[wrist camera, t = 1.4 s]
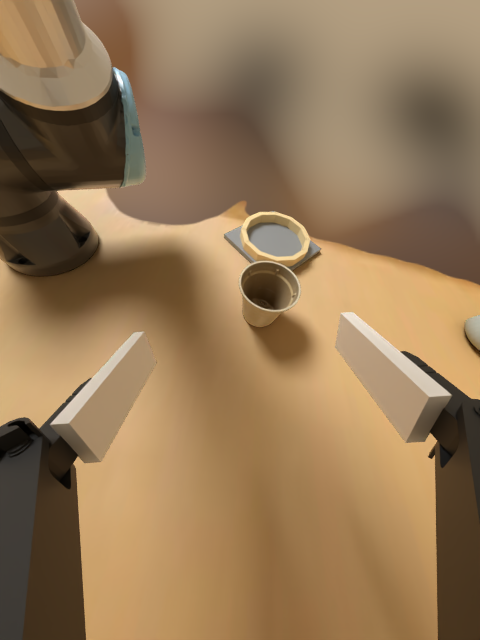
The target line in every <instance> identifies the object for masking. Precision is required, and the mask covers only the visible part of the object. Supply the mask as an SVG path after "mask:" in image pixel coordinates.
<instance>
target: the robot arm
mask: <svg viewBox="0 0 480 640" xmlns="http://www.w3.org/2000/svg"><path fill="white" fill-rule="evenodd" d="M145 177H146V165H145V156H144V149H143V143H142V138H141V134H140V128H139V122H138V115H137V110H136V106H135V101H134V97H133V93H132V89H131V85H130V82H129V79H128V77H127V75H126V74H125V73H124V72H122V71H119V70H118V69H116V68H112V65H111V61H110V58H109V55H108V53H107V51H106V49H105V47H104V45H103V44H102V42H101V41H100V40H99V39H98V37H97V36H96V35H95V34H94V33H93V32H92V31H91V30H90V29H89V28H88V27H87V26H86V25H85V24H84V23H82V22H81V19H80V16H79V14H78V11H77V8H76V5H75V2H74V0H0V259H1V260H3V261H4V262H5V263H6V264H8V265H9V266H10V267H12V268H13V269H15V270H16V271H18V272H20V273H23V274H27V275H32V276H49V275H56V274H60V273H64V272H67V271H69V270H72V269H74V268H76V267H78V266H80V265H81V264H83V263H84V262H86V261H87V260H88V259H89V258H90V257H91V256H92V255H93V254H94V252H95V251H96V249H97V246H98V235H97V233H96V231H95V230H94V228H93V227H92V225H91V223H90V222H89V221H88V220H87V219H86V218H85V217H84V216H83V215H82V214H80V213H79V212H78V211H77V210H76V209H75V208H74V207H72V206H71V205H70V204H69V203H68V202H67V201H66V200H64V199H63V198H62V197H61V196H60V195H59V194H58V192H57V191H58V190H78V189H99V188H123V187H125V186H131V185H137V184H140V183H142V182H143V181H144V180H145ZM335 348H336V349H337V351H338V352H339V353H340V355H341V356H342V357H343V359H344V360H345V361H346V363H347V364H348V366H349V367H350V368H351V370H352V371H353V372H354V374H355V375H356V376H357V378H358V379H359V380H360V382H361V383H362V384H363V386H364V387H365V389H366V390H367V391H368V393H369V394H370V395H371V397H372V398H373V399H374V401H375V402H376V403H377V405H378V406H379V408H380V409H381V410H382V412H383V413H384V414H385V416H386V417H387V418H388V420H389V421H390V422H391V424H392V425H393V426H394V428H395V429H396V431H397V432H398V433H399V435H400V436H401V437H402V439H403V440H404V441H405V443H410V442H425V440H426V438H427V437H428V435H429V433H431V434H432V435H433V436H434V437H435V438H436V440H437V442H436V444H435V446H434V447H433V449H432V450H431V452H430V453H429V456H428V457H429V458H431V459H432V458H433V456H434V455H435V480H436V544H437V607H438V640H480V400H478V399H471V398H469V397H468V396H467V395H465V394H464V393H463V392H462V391H460V390H459V389H458V388H457V387H455V386H454V385H453V384H451V383H450V382H449V381H448V380H446V379H445V378H444V377H442V376H441V375H440V374H439V373H436V371H435V370H434V369H432V368H431V367H430V366H429V367H428V365H427V364H426V363H425V362H423V361H422V360H421V359H420V358H418V357H416V356H414V355H412V354H410V353H408V352H406V351H402V352H400V351H399V350H397V349H396V348H395V347H394V346H393V345H391V344H390V343H389V342H388V341H387V340H385V339H384V338H383V337H382V336H381V335H380V334H378V333H377V332H376V331H375V330H374V329H372V328H371V327H370V326H369V325H368V324H366V323H365V322H364V321H363V320H362V319H360V318H359V317H358V316H357V315H356V314H354V313H353V312H347V313H340V320H339V326H338V332H337V339H336V345H335ZM156 363H157V361H156V359H155V356H154V354H153V351H152V349H151V346H150V344H149V341H148V339H147V336H146V334H145V331H143V332H134V333H133V334H132V335H131V336H130V337H129V338H128V339H127V340H126V341H125V342H124V344H123V345H122V346H121V347H120V348H119V349H118V350H117V351H116V352H115V353H114V355H113V356H112V357H111V358H110V359H109V360H108V361H107V362H106V363H105V364H104V366H103V367H102V368H101V369H100V370H99V371H98V372H97V373H96V374H95V375H94V377H93V378H90V379H88V380H87V381H86V382H84V383H83V384H81V385H80V386H79V387H78V388H77V389H76V390H75V391H74V392H73V394H72V396H70V397H69V398H68V399H67V400H66V402H65V403H63V404H62V405H61V406H60V407H59V408H58V409H57V411H56V412H55V413H54V414H53V415H52V416H51V417H50V418H49V419H48V420H47V421H46V422H45V423H44V424H43V425H42V426H41V428H40V429H39V428H38V427H37V426H36V425H35V424H34V423H33V422H32V421H31V420H30V419H29V418H25V417H24V418H18V419H15V420H13V421H10V422H8V423H6V424H4V425H2V426H1V427H0V640H86V632H85V615H84V598H83V581H82V564H81V547H80V530H79V513H78V497H77V480H76V468H75V466H74V465H73V462H74V461H75V459H76V458H77V456H79V458H80V459H81V460H82V461H83V462H84V463H94V462H101V461H102V460H103V458H104V456H105V454H106V452H107V451H108V449H109V447H110V445H111V444H112V442H113V440H114V438H115V436H116V435H117V433H118V431H119V429H120V428H121V426H122V424H123V422H124V420H125V419H126V417H127V415H128V413H129V411H130V410H131V408H132V406H133V404H134V403H135V401H136V399H137V397H138V395H139V394H140V392H141V390H142V388H143V387H144V385H145V383H146V381H147V379H148V378H149V376H150V374H151V372H152V371H153V369H154V367H155V365H156Z"/></svg>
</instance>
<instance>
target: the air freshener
mask: <svg viewBox="0 0 480 640" xmlns="http://www.w3.org/2000/svg"><path fill="white" fill-rule="evenodd" d="M465 332H466V335H467V337H468V339H469V340H470V342H471V343H472V344H473V345H474V346H475V347H476V348H477V349H478V350H480V315H478V316H475V317H472V318H469V319H467V320H466V321H465Z"/></svg>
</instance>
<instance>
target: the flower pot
mask: <svg viewBox="0 0 480 640" xmlns="http://www.w3.org/2000/svg"><path fill="white" fill-rule="evenodd" d="M239 288H240V291H241V294H242V296H243V308H242V313H243V316H244V318H245V320H246V321H247V322H248V323H249V324H251V325H253V326H256V327H264V326H267V325H270V324H271V323H272V322H273V321H274V320H275V319H276V318H277V317H278V316H279V315H280V314H281V313H282V312H284V311H287V310H289V309H291V308H292V307H293V306H294V305H295V304H296V303H297V302H298V300H299V298H300V295H301V286H300V282H299V280H298V278H297V277H296V275H295V274H294V273H293V272H292V271H291V270H290V269H289V268H287V267H286V266H284V265H282V264H279V263H276V262H272V261H258V262H254V263H252V264H250V265H248V266H247V267H246V268H244V270H243V271H242V273H241V275H240V278H239ZM261 302H264V303H266V305H265V304H263V303H261Z"/></svg>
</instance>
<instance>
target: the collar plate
mask: <svg viewBox="0 0 480 640" xmlns="http://www.w3.org/2000/svg"><path fill="white" fill-rule="evenodd" d="M224 238H225V239H226V240H227V241H228V242H229V243H230V244H231V245H232V246H233V247H234V248H235V249H236V250H237V251H239V252H240V253H241V254H242V255H243V256H244V257H245V258H246V259H247V260H248V261H249V262H250V263H251V264H252V263H254V262H258V261H272V262H276V263H279V264H282V265H284V266H286V267H287V268H289V269H290V270H291V271H293V270H294V269H295V268H297V267H298V266H300V265H301V264H303V263H304V262H306V261H307V260H308V259H310V258H311V257H313V256H314V255H316V254H317V253H319V252H320V250H321V248H319V247H318V246H317V245H316V244H314V243H313V242H312V241H311V240H310V238H309V236H308V234H307V232H306V230H305V228H304V227H303V226H302V225H301V224H300V223H298V222H297V221H296V220H294V219H293V218H291V217H289V216H286V215H283V214H280V213H277V212H274V211H272V212H259V213H256V214H254V215H252V216H250V217H248V218H247V219H246V221H245V222H244V224H243V225H242V226H240V227H238V228H236V229H234V230H232V231H230V232H228V233H226V234H224Z"/></svg>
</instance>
